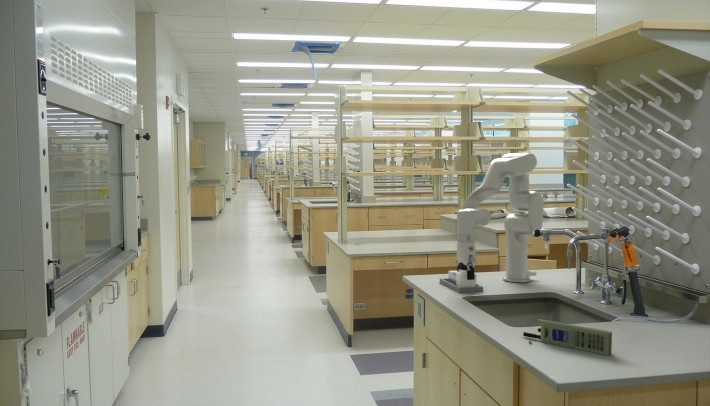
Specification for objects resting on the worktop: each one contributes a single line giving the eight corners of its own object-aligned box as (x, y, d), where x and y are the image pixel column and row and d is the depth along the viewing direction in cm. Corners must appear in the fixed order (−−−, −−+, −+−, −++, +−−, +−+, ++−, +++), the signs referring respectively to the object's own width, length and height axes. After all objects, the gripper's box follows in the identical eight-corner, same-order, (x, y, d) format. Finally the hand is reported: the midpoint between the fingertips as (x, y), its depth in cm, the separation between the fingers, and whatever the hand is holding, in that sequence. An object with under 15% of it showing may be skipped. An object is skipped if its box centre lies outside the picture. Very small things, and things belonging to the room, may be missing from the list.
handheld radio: (609, 357, 144) (521, 339, 160) (612, 354, 146) (525, 337, 162) (609, 333, 144) (521, 317, 160) (613, 330, 146) (525, 315, 162)
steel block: (458, 283, 239) (458, 270, 238) (463, 285, 234) (463, 272, 234) (448, 283, 238) (448, 270, 237) (452, 286, 233) (453, 272, 232)
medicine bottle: (476, 290, 223) (476, 262, 222) (459, 291, 222) (459, 263, 222) (471, 287, 230) (472, 260, 229) (455, 287, 230) (455, 260, 229)
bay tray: (461, 282, 242) (461, 277, 242) (483, 292, 222) (483, 286, 222) (439, 284, 240) (439, 278, 240) (459, 294, 219) (459, 288, 219)
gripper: (483, 240, 217) (483, 280, 218) (464, 235, 234) (464, 273, 235) (466, 240, 216) (466, 281, 216) (449, 236, 232) (449, 274, 233)
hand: (465, 277), depth 226 cm, fingers open, 9 cm apart
